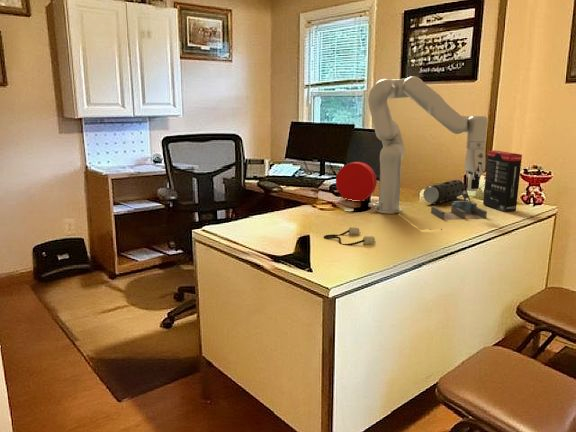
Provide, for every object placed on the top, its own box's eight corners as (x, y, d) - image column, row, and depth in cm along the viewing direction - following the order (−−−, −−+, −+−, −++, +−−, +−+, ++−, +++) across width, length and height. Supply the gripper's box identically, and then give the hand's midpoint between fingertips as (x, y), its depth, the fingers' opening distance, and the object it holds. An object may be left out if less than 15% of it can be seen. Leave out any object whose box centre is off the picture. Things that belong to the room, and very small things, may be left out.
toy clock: (375, 201, 246) (377, 162, 241) (372, 203, 241) (374, 164, 236) (338, 198, 254) (339, 160, 249) (335, 200, 249) (336, 162, 244)
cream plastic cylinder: (469, 191, 206) (471, 172, 204) (465, 189, 210) (467, 171, 208) (478, 191, 206) (480, 172, 204) (474, 189, 210) (476, 171, 208)
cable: (338, 249, 167) (338, 240, 166) (320, 237, 182) (321, 228, 181) (377, 245, 172) (378, 236, 171) (357, 234, 187) (358, 225, 186)
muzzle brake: (464, 199, 252) (466, 180, 249) (438, 207, 232) (440, 186, 230) (447, 197, 258) (449, 178, 256) (421, 204, 239) (422, 184, 237)
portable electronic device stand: (476, 212, 222) (478, 194, 221) (459, 210, 225) (460, 193, 223) (476, 208, 231) (477, 191, 229) (458, 207, 233) (460, 190, 231)
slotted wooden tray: (442, 221, 204) (443, 208, 202) (429, 214, 217) (430, 201, 216) (487, 221, 205) (488, 207, 204) (472, 213, 219) (473, 200, 218)
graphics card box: (517, 211, 223) (523, 153, 216) (504, 212, 221) (510, 153, 215) (493, 204, 239) (499, 149, 233) (481, 205, 237) (486, 150, 231)
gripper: (494, 147, 195) (490, 191, 200) (475, 143, 212) (471, 184, 216) (476, 147, 195) (472, 191, 199) (458, 144, 211) (455, 184, 215)
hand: (472, 187), depth 207 cm, fingers closed on cream plastic cylinder, 4 cm apart
